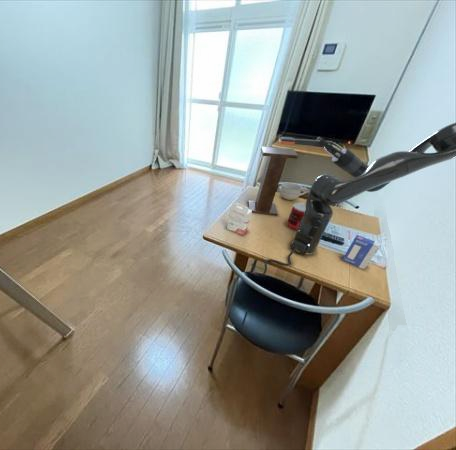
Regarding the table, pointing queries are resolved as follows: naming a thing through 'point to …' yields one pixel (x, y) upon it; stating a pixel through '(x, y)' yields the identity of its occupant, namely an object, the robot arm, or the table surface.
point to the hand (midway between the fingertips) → (318, 139)
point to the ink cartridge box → (239, 218)
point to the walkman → (361, 251)
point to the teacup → (291, 191)
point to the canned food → (296, 215)
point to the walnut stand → (270, 179)
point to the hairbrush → (300, 141)
